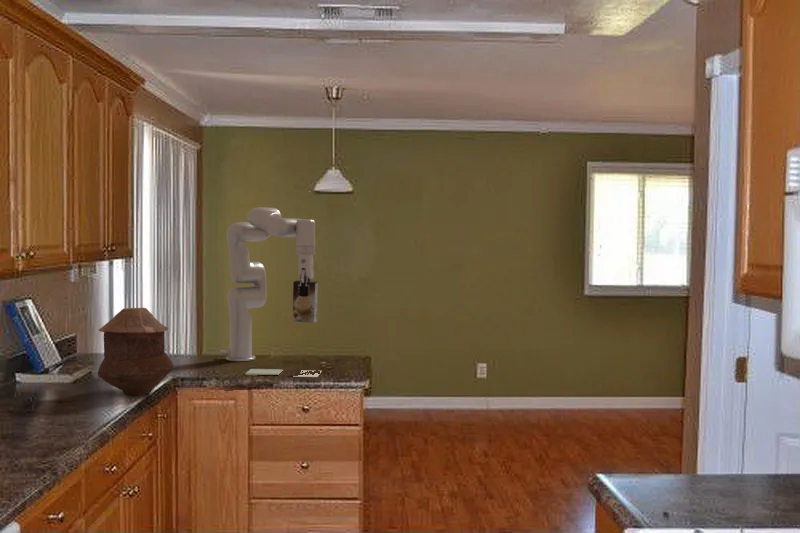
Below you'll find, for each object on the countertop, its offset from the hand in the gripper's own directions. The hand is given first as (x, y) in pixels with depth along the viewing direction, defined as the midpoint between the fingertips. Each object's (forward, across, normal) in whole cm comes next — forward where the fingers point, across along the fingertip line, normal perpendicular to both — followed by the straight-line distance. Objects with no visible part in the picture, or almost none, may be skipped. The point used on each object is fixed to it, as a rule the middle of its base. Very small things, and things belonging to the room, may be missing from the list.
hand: (305, 295), depth 347 cm
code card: (+31, 0, 0) cm, 31 cm away
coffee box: (+11, 0, 0) cm, 11 cm away
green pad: (+31, -1, +16) cm, 35 cm away
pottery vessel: (+32, -44, +53) cm, 76 cm away
